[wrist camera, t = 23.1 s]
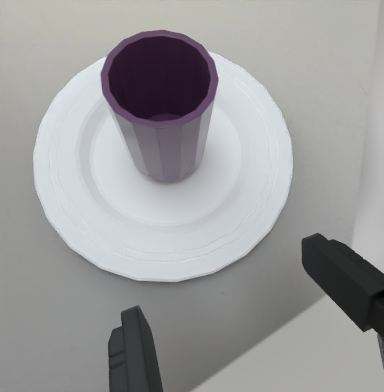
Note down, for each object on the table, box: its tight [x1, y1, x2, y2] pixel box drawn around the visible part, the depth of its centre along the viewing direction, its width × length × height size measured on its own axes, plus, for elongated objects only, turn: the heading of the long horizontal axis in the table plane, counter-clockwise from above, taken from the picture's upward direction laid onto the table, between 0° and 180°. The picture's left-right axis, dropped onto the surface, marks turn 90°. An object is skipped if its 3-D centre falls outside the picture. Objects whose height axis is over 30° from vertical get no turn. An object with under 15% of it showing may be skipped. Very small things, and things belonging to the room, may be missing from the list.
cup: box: [100, 30, 219, 182], centre depth 18 cm, size 6×6×8 cm
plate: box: [33, 51, 294, 282], centre depth 23 cm, size 21×21×2 cm
